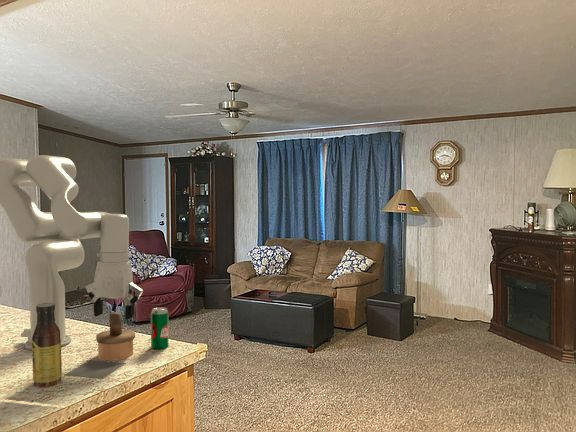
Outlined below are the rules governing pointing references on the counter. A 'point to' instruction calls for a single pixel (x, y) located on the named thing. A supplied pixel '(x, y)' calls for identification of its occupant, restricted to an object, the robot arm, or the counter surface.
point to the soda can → (159, 328)
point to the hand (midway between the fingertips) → (113, 316)
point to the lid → (115, 331)
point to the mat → (95, 369)
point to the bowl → (115, 350)
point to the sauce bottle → (46, 348)
